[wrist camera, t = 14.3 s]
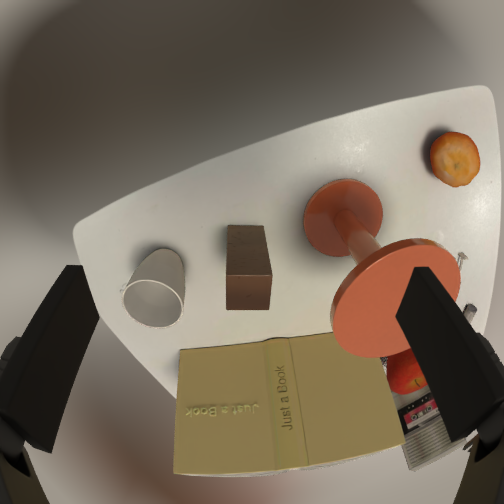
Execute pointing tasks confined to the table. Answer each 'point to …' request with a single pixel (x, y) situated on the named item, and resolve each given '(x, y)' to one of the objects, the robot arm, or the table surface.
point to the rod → (470, 312)
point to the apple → (404, 373)
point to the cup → (156, 290)
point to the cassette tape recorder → (423, 429)
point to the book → (280, 408)
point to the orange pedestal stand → (370, 267)
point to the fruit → (454, 159)
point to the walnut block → (247, 269)
